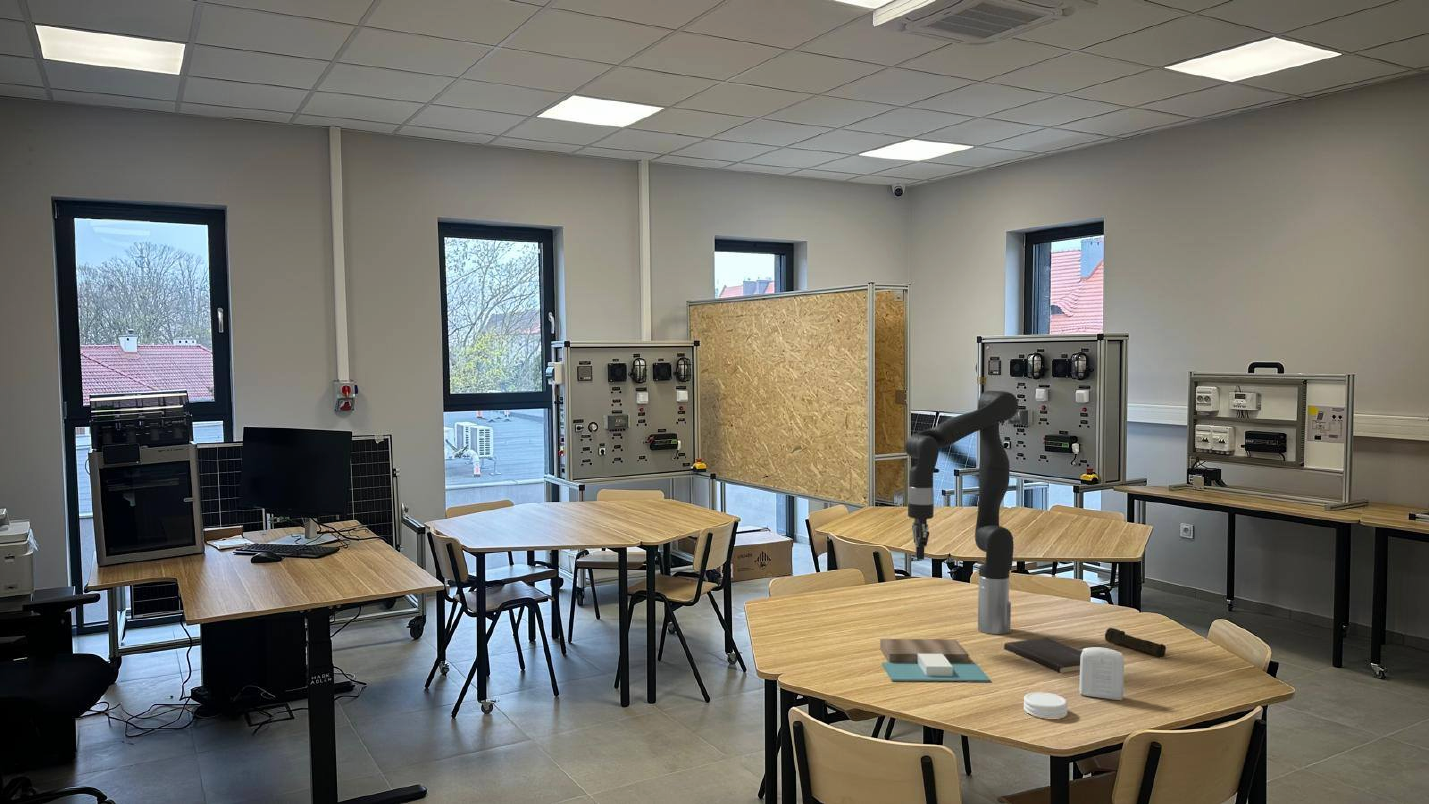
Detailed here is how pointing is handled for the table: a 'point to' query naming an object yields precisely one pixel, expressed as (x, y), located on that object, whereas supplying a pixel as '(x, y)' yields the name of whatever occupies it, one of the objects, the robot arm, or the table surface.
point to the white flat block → (934, 665)
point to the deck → (922, 649)
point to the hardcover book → (1047, 653)
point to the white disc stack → (1045, 705)
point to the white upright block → (1101, 673)
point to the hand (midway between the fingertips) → (919, 559)
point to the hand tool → (1134, 642)
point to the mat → (915, 673)
